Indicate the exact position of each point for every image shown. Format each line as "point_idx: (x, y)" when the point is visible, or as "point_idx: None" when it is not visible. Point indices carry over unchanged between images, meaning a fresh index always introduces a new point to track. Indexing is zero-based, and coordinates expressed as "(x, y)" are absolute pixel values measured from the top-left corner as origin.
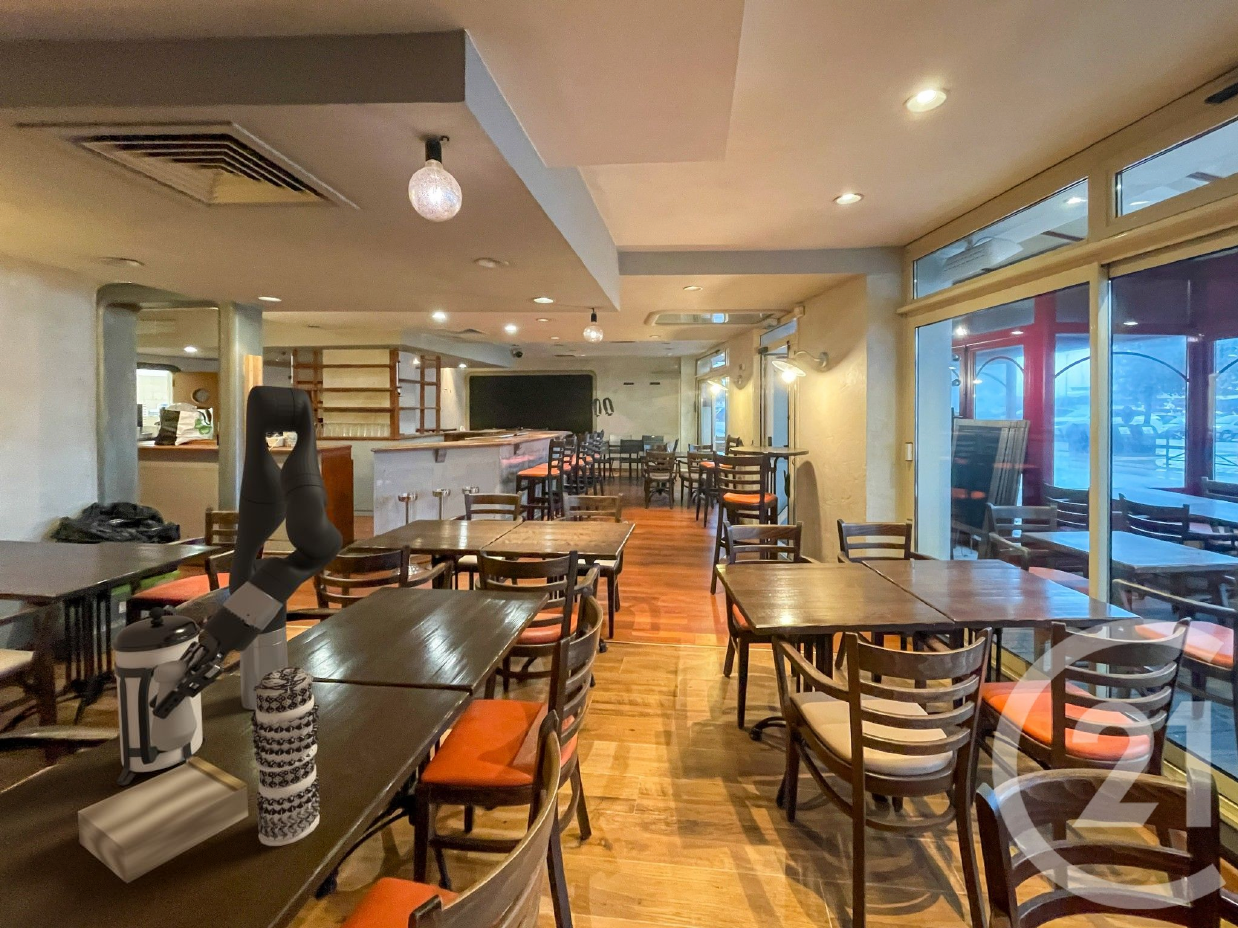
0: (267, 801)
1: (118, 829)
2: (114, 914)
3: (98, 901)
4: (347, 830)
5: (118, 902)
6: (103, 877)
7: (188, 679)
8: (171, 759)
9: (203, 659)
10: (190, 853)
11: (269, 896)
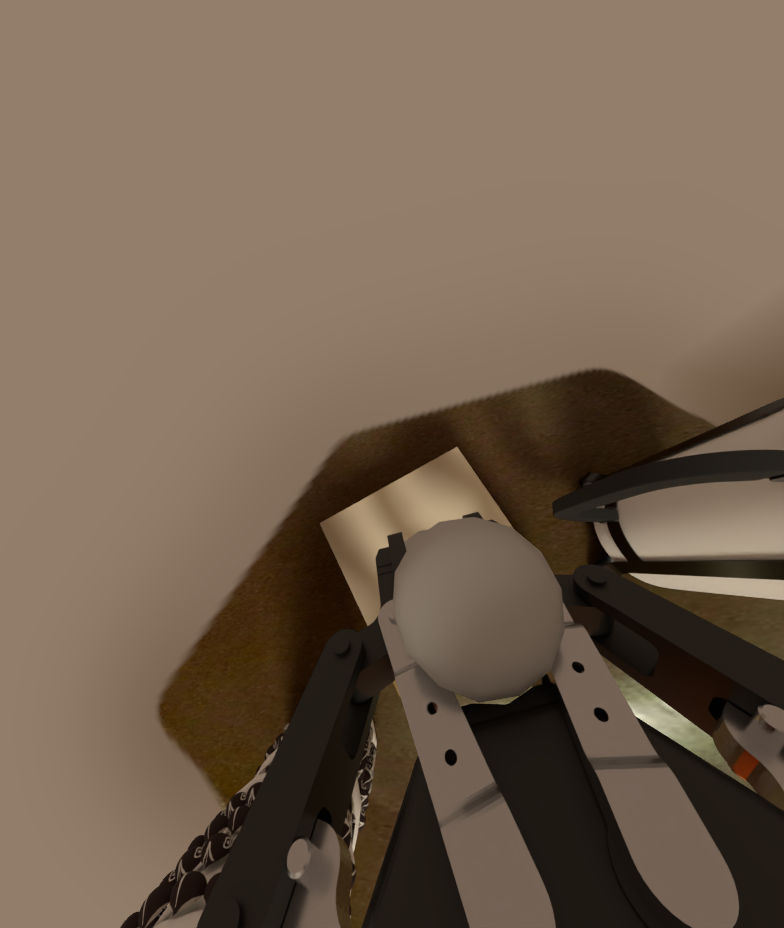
0: (278, 745)
1: (376, 506)
2: (284, 526)
3: (318, 506)
4: None
5: (302, 526)
6: None
7: (334, 698)
8: (604, 543)
9: (404, 877)
10: (350, 593)
11: (193, 702)
